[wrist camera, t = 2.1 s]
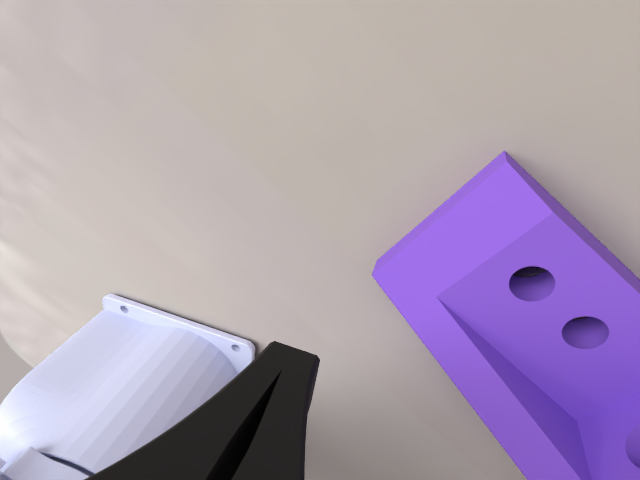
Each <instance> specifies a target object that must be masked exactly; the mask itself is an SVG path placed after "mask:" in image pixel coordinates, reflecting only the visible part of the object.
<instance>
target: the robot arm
mask: <svg viewBox="0 0 640 480" xmlns="http://www.w3.org/2000/svg"><path fill="white" fill-rule="evenodd" d="M103 308H104V310H102V311H101V312H100V313H99V314H97V315H96V316H95V317H94V318H93V319H92V320H90V321H89V322H88V323H87V324H86V325H85V326H83V327H82V328H81V329H80V330H79V331H77V332H76V333H75V334H74V335H73V336H72V337H70V338H69V339H68V340H67V341H66V342H64V343H63V344H62V345H61V346H60V347H59V348H57V349H56V350H55V351H54V352H53V353H51V354H50V355H49V356H48V357H47V358H46V359H44V360H43V361H42V362H41V363H40V364H39V365H37V366H36V367H35V368H34V369H33V370H31V371H30V372H29V373H28V374H27V375H26V376H25V377H23V378H22V380H20V381H19V382H18V383H17V385H16V386H15V387H14V388H13V389H12V390H11V392H10V393H9V394H8V395H7V397H6V398H5V399H4V401H3V402H2V404H1V405H0V480H304V464H305V437H306V425H307V414H308V411H309V407H310V404H311V400H312V395H313V391H314V386H315V381H316V376H317V372H318V367H319V362H320V359H319V358H318V356H317V355H314V354H311V353H308V352H305V351H302V350H299V349H296V348H293V347H290V346H287V345H285V344H282V343H279V342H276V341H274V342H271V343H270V344H269V345H268V346H267V347H266V348H265V349H264V350H263V351H262V352H261V353H260V354H259V355H258V356H257V357H256V358H255V346H254V345H253V343H252V342H250V341H248V340H245V339H243V338H240V337H237V336H234V335H231V334H228V333H225V332H222V331H219V330H216V329H213V328H210V327H208V326H205V325H202V324H199V323H196V322H193V321H190V320H187V319H184V318H181V317H178V316H175V315H173V314H170V313H167V312H164V311H161V310H158V309H155V308H152V307H149V306H146V305H143V304H140V303H138V302H135V301H132V300H129V299H126V298H123V297H120V296H117V295H114V294H107V295H106V296H105V297H104V298H103ZM238 346H239V347H238ZM254 358H255V359H254Z"/></svg>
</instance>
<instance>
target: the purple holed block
mask: <svg viewBox="0 0 640 480" xmlns="http://www.w3.org/2000/svg"><path fill="white" fill-rule="evenodd" d="M528 266H537V267H541V268H544V269H546V271H544V272H543V273H541V274H539V275H536V276H533V277H517V276H514V275H513V274H514V273H515V272H516V271H517V270H519V269H521V268H524V267H528ZM372 276H373V277H374V279H375V280H376V281H377V283H378V284H379V285H380V287H381V288H382V289H383V291H384V292H385V293H386V294H387V296H388V297H389V298H390V300H391V301H392V302H393V304H394V305H395V306H396V308H397V309H398V310H399V312H400V313H401V314H402V315H403V317H404V318H405V319H406V321H407V322H408V323H409V325H410V326H411V327H412V329H413V330H414V331H415V333H416V334H417V335H418V336H419V338H420V339H421V340H422V342H423V343H424V344H425V346H426V347H427V348H428V350H429V351H430V352H431V354H432V355H433V356H434V358H435V359H436V360H437V361H438V363H439V364H440V365H441V367H442V368H443V369H444V371H445V372H446V373H447V375H448V376H449V377H450V379H451V380H452V381H453V382H454V384H455V385H456V386H457V388H458V389H459V390H460V392H461V393H462V394H463V396H464V397H465V398H466V400H467V401H468V402H469V404H470V405H471V406H472V407H473V409H474V410H475V411H476V413H477V414H478V415H479V417H480V418H481V419H482V421H483V422H484V423H485V425H486V426H487V427H488V428H489V430H490V431H491V432H492V434H493V435H494V436H495V438H496V439H497V440H498V442H499V443H500V444H501V446H502V447H503V448H504V450H505V451H506V452H507V453H508V455H509V456H510V457H511V459H512V460H513V461H514V463H515V464H516V465H517V467H518V468H519V469H520V471H521V472H522V473H523V474H524V476H525V477H526V478H527V480H640V279H639V278H637V277H636V276H635V275H634V274H633V273H632V272H631V271H630V270H629V269H628V268H627V267H626V266H625V265H624V264H623V263H622V262H621V261H620V260H619V259H618V258H616V257H615V256H614V255H613V254H612V253H611V252H610V251H609V250H608V249H607V248H606V247H605V246H604V245H603V244H602V243H601V242H600V241H599V240H598V239H597V238H595V237H594V236H593V235H592V234H591V233H590V232H589V231H588V230H587V229H586V228H585V227H584V226H583V225H582V224H581V223H580V222H579V221H578V220H577V219H576V218H574V217H573V216H572V215H571V214H570V213H569V212H568V211H567V210H566V209H565V208H564V207H563V206H562V205H561V204H560V203H559V202H558V201H557V200H556V199H555V198H554V197H552V196H551V195H550V194H549V193H548V192H547V191H546V190H545V189H544V188H543V187H542V186H541V185H540V184H539V183H538V182H537V181H536V180H535V179H534V178H533V177H531V176H530V175H529V174H528V173H527V172H526V171H525V170H524V169H523V168H522V167H521V166H520V165H519V164H518V163H517V162H516V161H515V160H514V159H513V158H512V157H510V156H509V155H508V154H507V153H506V152H505V151H503V152H502V153H501V154H500V155H499V156H498V157H496V158H495V159H494V160H493V161H492V162H491V163H490V164H488V165H487V166H486V167H485V168H484V169H483V170H481V171H480V172H479V173H478V174H477V175H476V176H474V177H473V178H472V179H471V180H470V181H469V182H467V183H466V184H465V185H464V186H463V187H462V188H461V189H459V190H458V191H457V192H456V193H455V194H454V195H452V196H451V197H450V198H449V199H448V200H447V201H445V202H444V203H443V204H442V205H441V206H440V207H438V208H437V209H436V210H435V211H434V212H433V213H432V214H430V215H429V216H428V217H427V218H426V219H425V220H423V221H422V222H421V223H420V224H419V225H418V226H416V227H415V228H414V229H413V230H412V231H411V232H410V233H408V234H407V235H406V236H405V237H404V238H403V239H401V240H400V241H399V242H398V243H397V244H396V245H394V246H393V247H392V248H391V249H390V250H389V251H387V252H386V253H385V254H384V255H383V256H382V257H381V258H379V259H378V260H377V262H376V265H375V268H374V270H373V273H372ZM582 316H589V317H588V318H585V319H581V320H572V319H574V318H577V317H582Z"/></svg>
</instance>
